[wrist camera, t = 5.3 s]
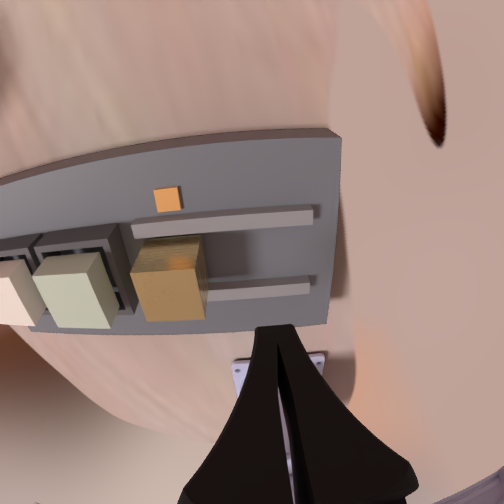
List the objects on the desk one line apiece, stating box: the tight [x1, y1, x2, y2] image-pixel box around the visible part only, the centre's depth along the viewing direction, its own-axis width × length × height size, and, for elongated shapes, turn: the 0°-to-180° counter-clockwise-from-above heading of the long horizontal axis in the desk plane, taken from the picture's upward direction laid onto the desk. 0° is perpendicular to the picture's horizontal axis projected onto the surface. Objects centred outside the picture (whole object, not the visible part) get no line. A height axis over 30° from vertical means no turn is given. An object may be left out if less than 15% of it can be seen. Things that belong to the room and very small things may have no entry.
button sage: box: [32, 252, 120, 329], centre depth 14 cm, size 4×4×2 cm
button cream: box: [0, 259, 47, 326], centre depth 14 cm, size 4×4×2 cm
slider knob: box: [130, 235, 209, 322], centre depth 15 cm, size 3×3×3 cm
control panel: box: [0, 128, 342, 335], centre depth 17 cm, size 12×23×4 cm, turn 94°
